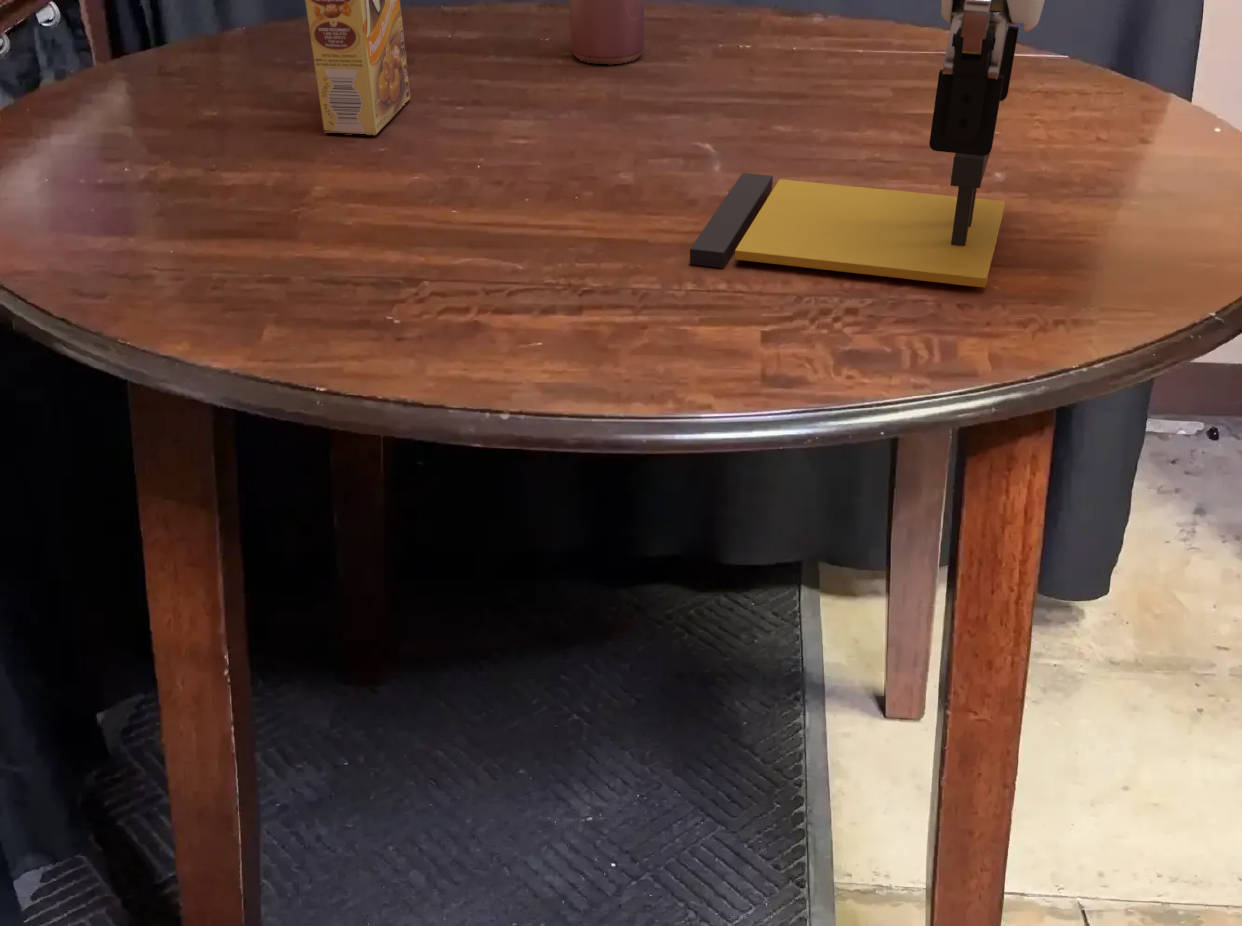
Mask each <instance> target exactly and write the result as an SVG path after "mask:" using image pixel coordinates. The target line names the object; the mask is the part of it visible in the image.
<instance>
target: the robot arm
mask: <svg viewBox="0 0 1242 926" xmlns="http://www.w3.org/2000/svg"><path fill="white" fill-rule="evenodd" d="M940 5H941V7H940V15H941V17H942V18H943V20H944V21H945V22H947V24H949V25H950V29H949V36H948V38H947V39H948V40H947V44H946V50H945V55H944V61H943V66H942V67H943V68H942V69H939V71H938V78H937V86H936V92H935V99H934V106H933V114H932V121H931V128H930V136H929V142H928V143H929V144H928V145H929V148H930V149H931V150H933V151H935V152H943V153H951V154H955V153H960V154H969V155H978V156H986V155H988V154H989V153H990V154H991V152H992V148H993V144H994V139H995V133H996V132H995V131H996V126H997V120H998V116H999V115H998V114H999V109H1000V103H1001V102H1002V101H1005V100H1006V99H1007V97H1008V94H1009V90H1010V83H1011V76H1012V70H1013V65H1014V60H1015V59H1014V58H1015V53H1016V47H1017V42H1018V36H1019V29H1020V27H1019V26H1016V24H1023V28H1022V31H1023V32H1029V31H1031V30H1032V29H1034V28H1035V27H1036V26H1037V25H1038V24H1039V22H1040V19H1041V16H1042V14H1043V13H1042V12H1043V9H1044V6H1045V0H941V4H940Z"/></svg>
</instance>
